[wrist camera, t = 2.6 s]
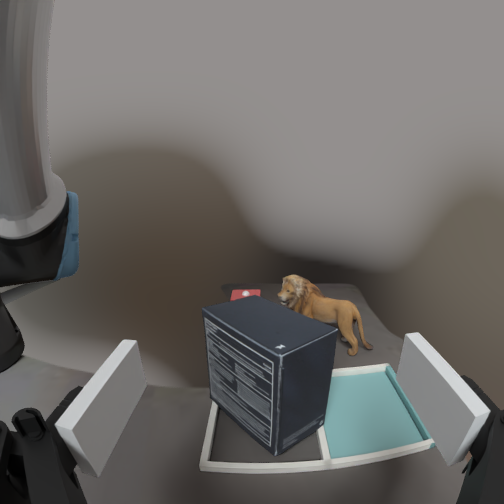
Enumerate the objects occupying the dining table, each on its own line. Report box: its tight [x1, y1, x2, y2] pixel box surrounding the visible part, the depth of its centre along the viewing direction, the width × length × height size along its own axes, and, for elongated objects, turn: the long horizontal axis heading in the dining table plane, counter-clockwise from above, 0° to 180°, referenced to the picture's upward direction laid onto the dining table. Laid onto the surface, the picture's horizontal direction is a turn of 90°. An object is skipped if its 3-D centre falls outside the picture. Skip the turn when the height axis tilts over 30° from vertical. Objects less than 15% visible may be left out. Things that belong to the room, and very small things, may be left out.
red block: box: [230, 290, 260, 301], centre depth 48 cm, size 4×4×5 cm
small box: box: [202, 295, 338, 456], centre depth 25 cm, size 11×6×10 cm, turn 37°
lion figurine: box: [278, 275, 373, 356], centre depth 40 cm, size 15×5×9 cm, turn 54°
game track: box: [199, 363, 435, 474], centre depth 26 cm, size 21×14×1 cm
